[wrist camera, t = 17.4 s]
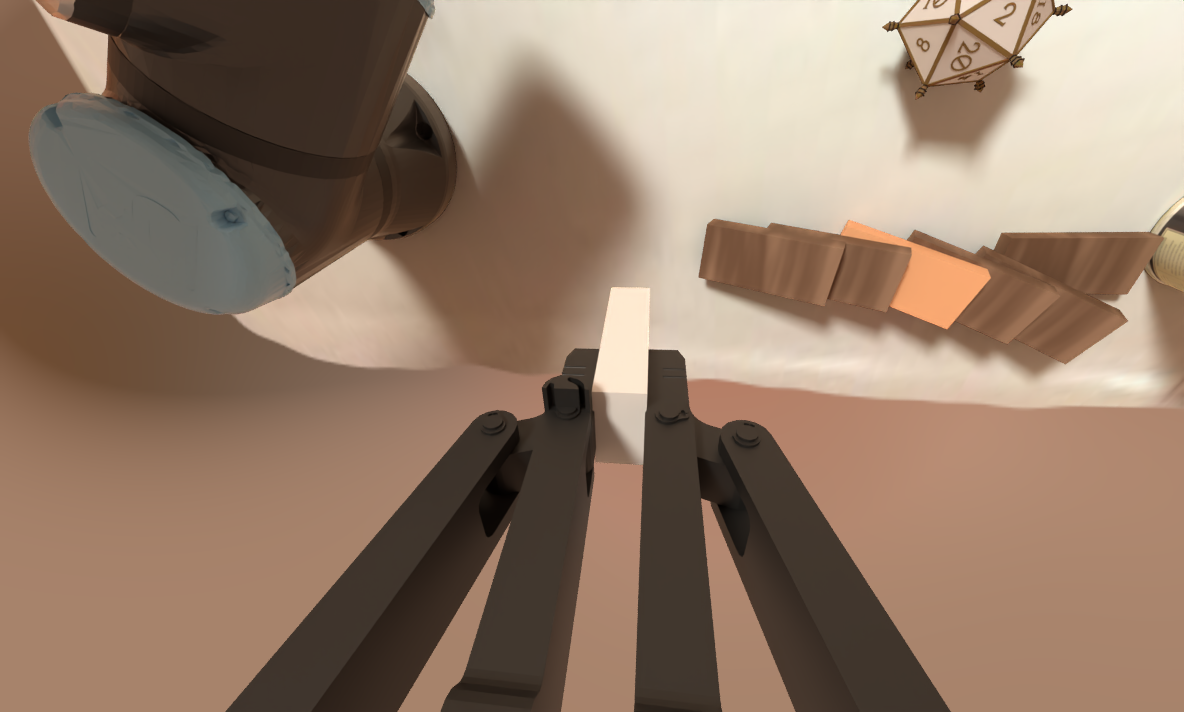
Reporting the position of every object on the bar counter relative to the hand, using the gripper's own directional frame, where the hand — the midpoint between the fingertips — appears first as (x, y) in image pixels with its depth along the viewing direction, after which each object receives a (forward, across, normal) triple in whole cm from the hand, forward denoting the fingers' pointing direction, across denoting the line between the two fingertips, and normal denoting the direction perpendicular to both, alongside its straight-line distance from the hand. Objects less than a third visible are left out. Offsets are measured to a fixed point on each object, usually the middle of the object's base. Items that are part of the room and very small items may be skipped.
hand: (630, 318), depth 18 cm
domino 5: (+26, +31, -8) cm, 41 cm away
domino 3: (+25, +17, -6) cm, 31 cm away
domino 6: (+25, +28, -9) cm, 38 cm away
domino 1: (+25, +6, -6) cm, 27 cm away
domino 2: (+25, +11, -7) cm, 28 cm away
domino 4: (+25, +22, -7) cm, 34 cm away
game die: (+26, +20, +10) cm, 35 cm away
